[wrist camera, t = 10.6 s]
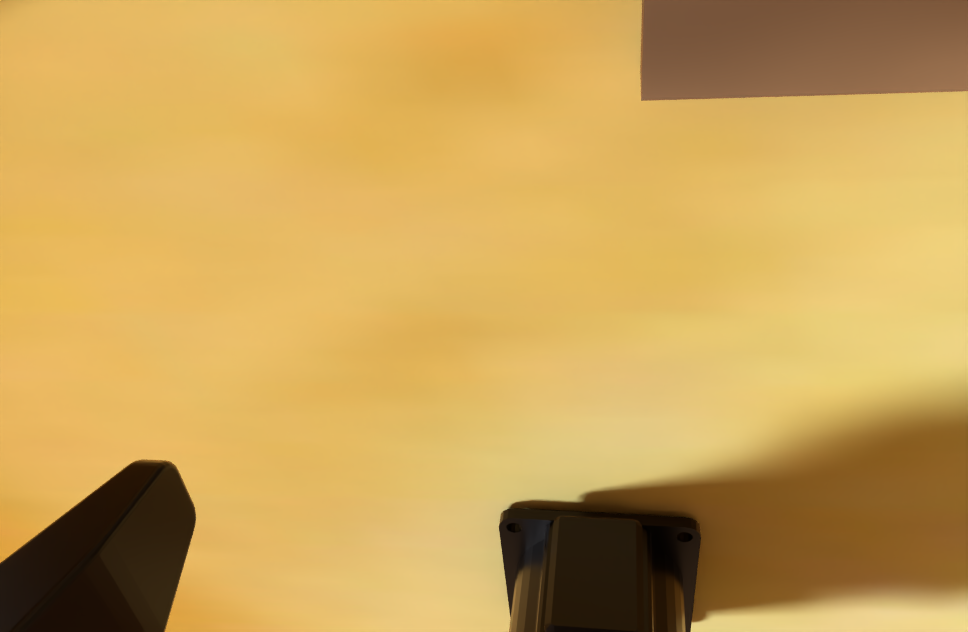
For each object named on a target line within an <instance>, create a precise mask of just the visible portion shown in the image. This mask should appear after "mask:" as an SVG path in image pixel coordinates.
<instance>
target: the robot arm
mask: <svg viewBox="0 0 968 632" xmlns="http://www.w3.org/2000/svg"><path fill="white" fill-rule="evenodd" d="M195 521H196V513H195V507H194V504H193V502H192V500H191V497H190V495H189V493H188V491H187V489H186V486H185V484H184V482H183V480H182V478H181V476H180V473H179V471H178V469H177V467H176V466H175V465H174V464H173V463H171V462H169V461H162V460H138V461H135V462H133V463H131V464H129V465H128V466H127V467H125V468H124V469H123V470H121V471H120V472H119V473H117V474H116V475H115V476H114V477H112V478H111V479H110V480H108V481H107V482H106V483H104V484H103V485H102V486H100V487H99V488H98V489H96V490H95V491H94V492H93V493H91V494H90V495H89V496H87V497H86V498H85V499H83V500H82V501H81V502H79V503H78V504H77V505H76V506H74V507H73V508H72V509H70V510H69V511H68V512H66V513H65V514H64V515H62V516H61V517H60V518H59V519H57V520H56V521H55V522H53V523H52V524H51V525H49V526H48V527H47V528H45V529H44V530H43V531H41V532H40V533H39V534H38V535H36V536H35V537H34V538H32V539H31V540H30V541H28V542H27V543H26V544H24V545H23V546H22V547H21V548H19V549H18V550H17V551H15V552H14V553H13V554H11V555H10V556H9V557H7V558H6V559H5V560H4V561H2V562H1V563H0V632H165V629H166V625H167V622H168V618H169V615H170V612H171V608H172V605H173V601H174V598H175V594H176V591H177V587H178V584H179V580H180V577H181V573H182V570H183V566H184V563H185V559H186V556H187V552H188V549H189V545H190V542H191V538H192V535H193V531H194V527H195ZM499 531H500V539H501V547H502V554H503V562H504V570H505V578H506V586H507V594H508V602H509V609H510V617H511V620H510V629H509V632H690V630H691V621H692V612H693V603H694V594H695V585H696V576H697V567H698V558H699V549H700V540H701V535H700V526H699V523H698V522H697V521H696V520H694V519H692V518H687V517H672V516H652V515H633V514H613V513H593V512H573V511H554V510H534V509H507V510H505V511H503V512H502V513H501V517H500V524H499Z"/></svg>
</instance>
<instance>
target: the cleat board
mask: <svg viewBox="0 0 968 632" xmlns="http://www.w3.org/2000/svg"><path fill="white" fill-rule="evenodd" d="M952 91H968V0H642V34H641V101H643V100H677V99H712V98H746V97H780V96H815V95H849V94H883V93H918V92H952Z"/></svg>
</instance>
